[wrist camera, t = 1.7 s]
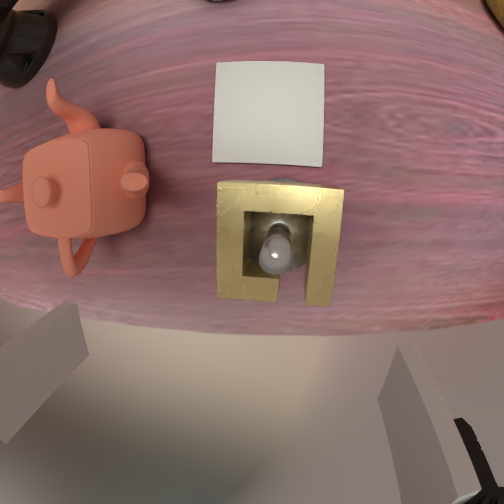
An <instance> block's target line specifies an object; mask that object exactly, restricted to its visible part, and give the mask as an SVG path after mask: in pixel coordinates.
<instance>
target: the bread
mask: <svg viewBox="0 0 504 504" xmlns="http://www.w3.org/2000/svg"><path fill="white" fill-rule="evenodd" d="M486 3H487V5H488V6H489V8H490V9H491V11H492V12H493V14H494V15H495V17H496V18H497V20H498V21H499V22H500V24H501V25H502V26H503V27H504V0H486Z"/></svg>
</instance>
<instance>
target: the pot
mask: <svg viewBox="0 0 504 504" xmlns="http://www.w3.org/2000/svg"><path fill="white" fill-rule="evenodd" d="M46 99H47V103H48V106H49V107H50V109H51V110H52V111H53V112H54V113H55V114H56V115H58V116H60V117H61V118H63V119H64V121H65V122H66V124H67V126H68V130H69V134H66V135H63V136H61V137H58V138H55V139H53V140H50V141H48V142H46V143H43V144H41V145H39V146H37V147H35V148H33V149H31V150H30V151H28V152H27V153H26V155H25V156H24V159H23V181H22V182H20V183H18V184H16V185H14V186H11V187H9V188H6V189H1V190H0V203H2V202H24V205H25V213H26V220H27V225H28V228H29V229H30V231H31V232H33V233H35V234H38V235H41V236H46V237H54V238H58V245H59V253H60V259H61V263H62V267H63V269H64V271H65V273H66V274H67V275H68V276H70V277H76V276H78V275H79V274H80V273H81V272H82V270H83V269H84V268H85V266H86V264H87V262H88V260H89V257H90V255H91V252H92V250H93V247H94V245H95V242H96V239H97V237H102V236H107V235H112V234H116V233H120V232H124V231H127V230H130V229H132V228H134V227H136V226H137V225H139V224H140V223H141V221H142V219H143V218H144V215H145V211H146V193H147V191H148V188H149V172H148V169H147V168H146V162H145V148H144V143H143V141H142V139H141V138H140V136H139V135H138V134H136V133H135V132H132V131H129V130H123V129H110V128H100V125H99V123H98V121H97V119H96V117H95V116H94V115H93V114H92V113H91V112H90V111H89V110H87V109H85V108H83V107H81V106H78V105H75V104H73V103H70V102H68V101H66V100H65V99H64V98H62V97H61V95H60V94H59V92H58V90H57V87H56V84H55V82H54V80H53V79H52V78H51V79H49V81H48V83H47V87H46ZM71 239H84V240H83V242H82V244H81V246H80V248H79V250H78V251H77V253H76V254H75V256H74V257H73V252H72V245H71Z"/></svg>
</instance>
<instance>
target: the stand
mask: <svg viewBox="0 0 504 504" xmlns="http://www.w3.org/2000/svg"><path fill="white" fill-rule="evenodd" d="M268 181H277V182H293V183H301V182H299V181H296V180H293V179H289V178H275V179H271V180H268ZM309 222H310V215H302V214H288V213H273V212H256V211H251V231H250V259H251V260H259V263H260V266H261V268H262V269H263V270H264V271H265V272H267V273H269V274H274V275H276V274H281V273H283V272H284V271H289V270H293V269H295V268H297V267H299V266H301V265H303V264H304V263H305V262H306V257H307V246H308V235H309Z"/></svg>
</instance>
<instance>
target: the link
mask: <svg viewBox="0 0 504 504" xmlns="http://www.w3.org/2000/svg"><path fill="white" fill-rule="evenodd" d="M343 196H344V190H343V189H341V188H339V187H337V186H332V185H320V184H308V183H293V182H277V181H257V180H230V179H229V180H225V181H220V182H217V297H220V298H230V299H240V300H251V301H262V302H275V303H277V300H278V292H279V283H280V274H276V275H274V274H269V273H267V272H265V271H264V270H263V269H262V268H261V266H260V263H259V260H250V231H251V211H256V212H273V213H288V214H302V215H310V222H309V235H308V246H307V257H306V268H305V278H304V295H305V305H317V306H330V305H331V299H332V292H333V285H334V278H335V271H336V263H337V255H338V247H339V238H340V229H341V219H342V208H343Z"/></svg>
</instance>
